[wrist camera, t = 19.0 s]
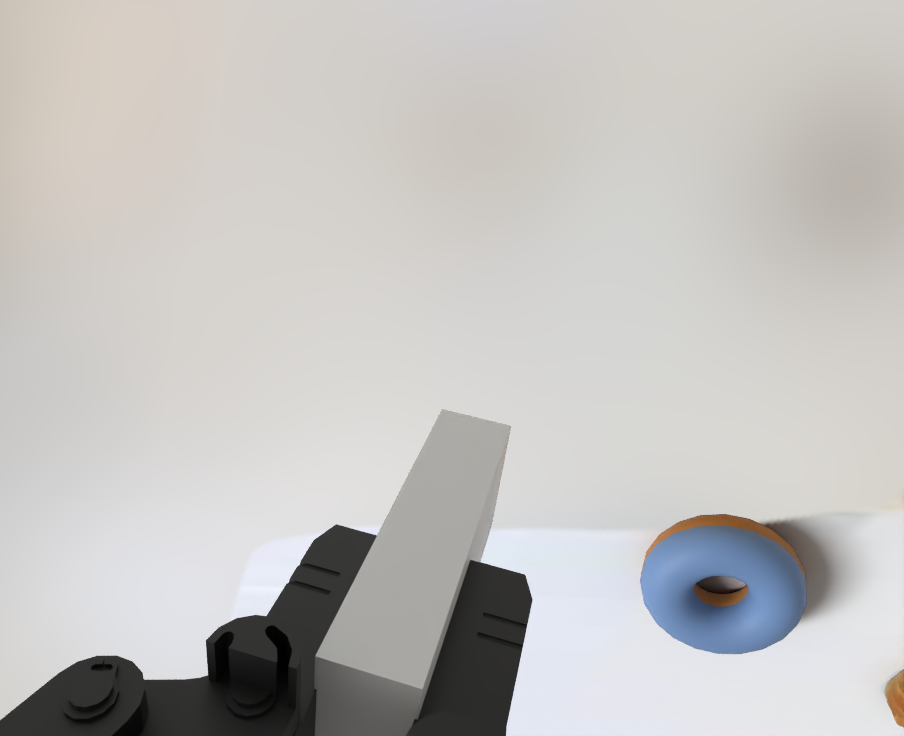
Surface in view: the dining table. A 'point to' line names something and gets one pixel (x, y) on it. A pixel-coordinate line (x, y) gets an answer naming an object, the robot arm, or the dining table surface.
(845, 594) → the dining table surface
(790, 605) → the doughnut
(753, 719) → the dining table surface
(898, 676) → the pastry
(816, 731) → the dining table surface
